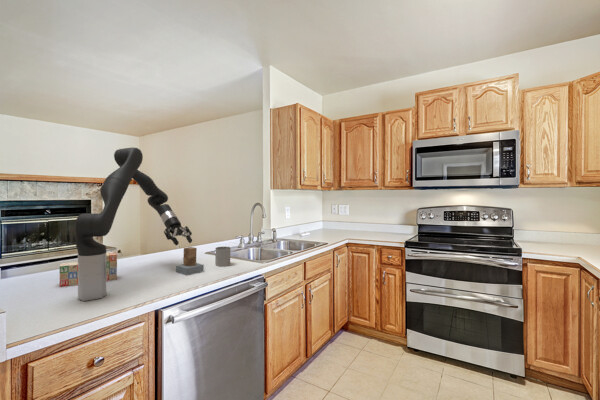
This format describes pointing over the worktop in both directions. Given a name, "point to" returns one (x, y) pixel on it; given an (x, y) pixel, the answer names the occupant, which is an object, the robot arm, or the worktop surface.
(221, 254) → the cup
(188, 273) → the slate block
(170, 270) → the worktop surface
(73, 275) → the stack of blocks
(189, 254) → the walnut block
